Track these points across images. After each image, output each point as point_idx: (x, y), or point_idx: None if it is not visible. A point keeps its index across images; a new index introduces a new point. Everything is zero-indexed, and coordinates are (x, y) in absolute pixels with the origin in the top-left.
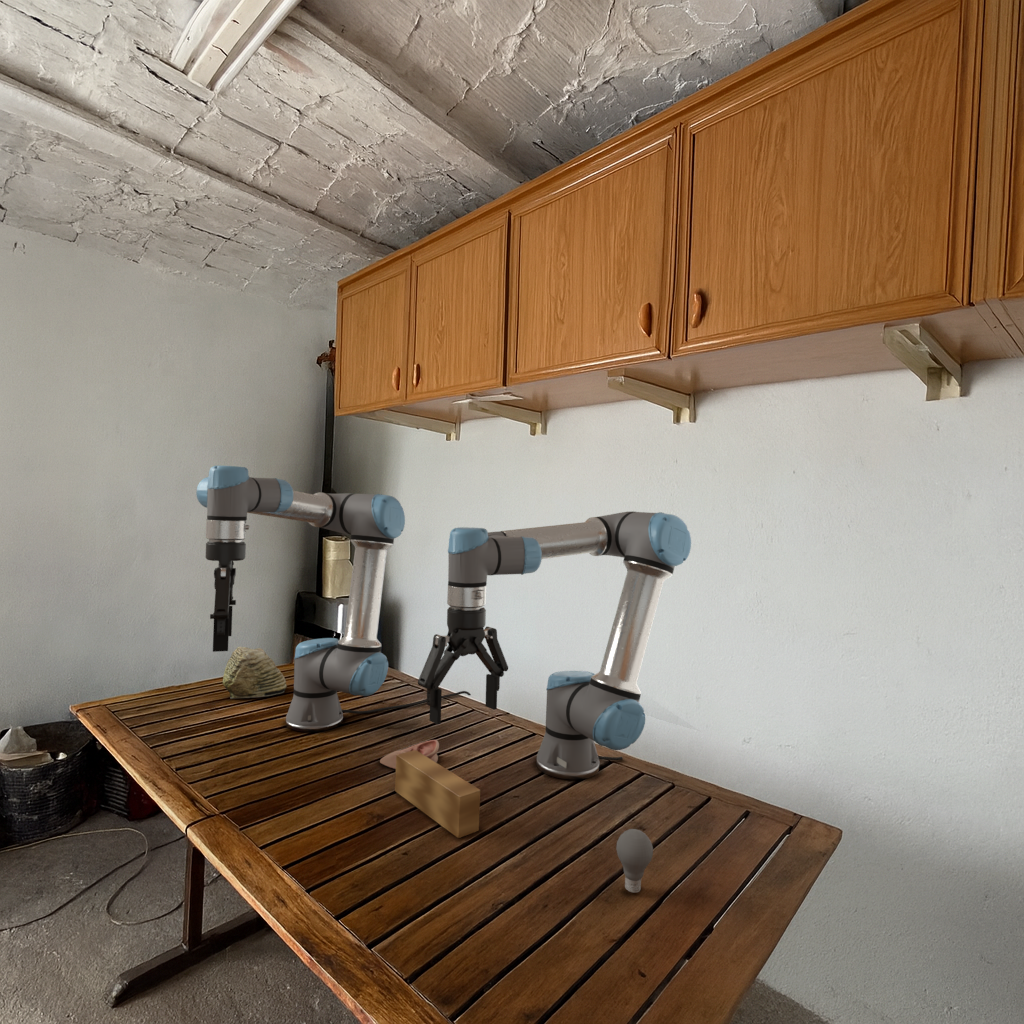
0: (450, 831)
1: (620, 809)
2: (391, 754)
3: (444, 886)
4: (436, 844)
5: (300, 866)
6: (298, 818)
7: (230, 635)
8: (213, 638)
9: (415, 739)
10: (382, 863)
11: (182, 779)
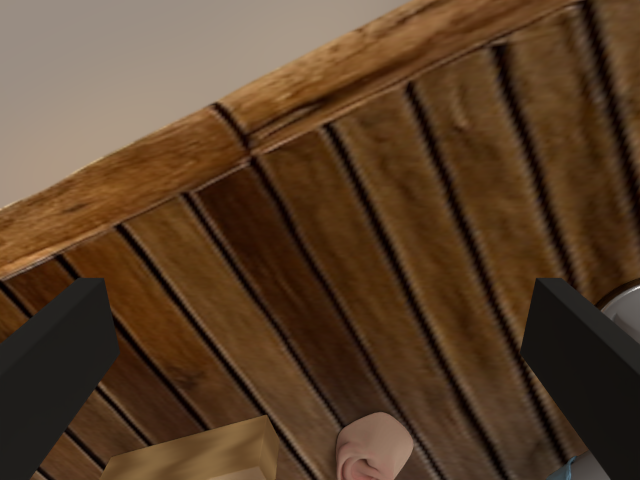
0: (126, 453)
1: None
2: (382, 436)
3: None
4: (100, 432)
5: (59, 276)
6: (205, 280)
7: (522, 352)
8: (20, 329)
9: (463, 471)
10: None
11: (434, 66)
